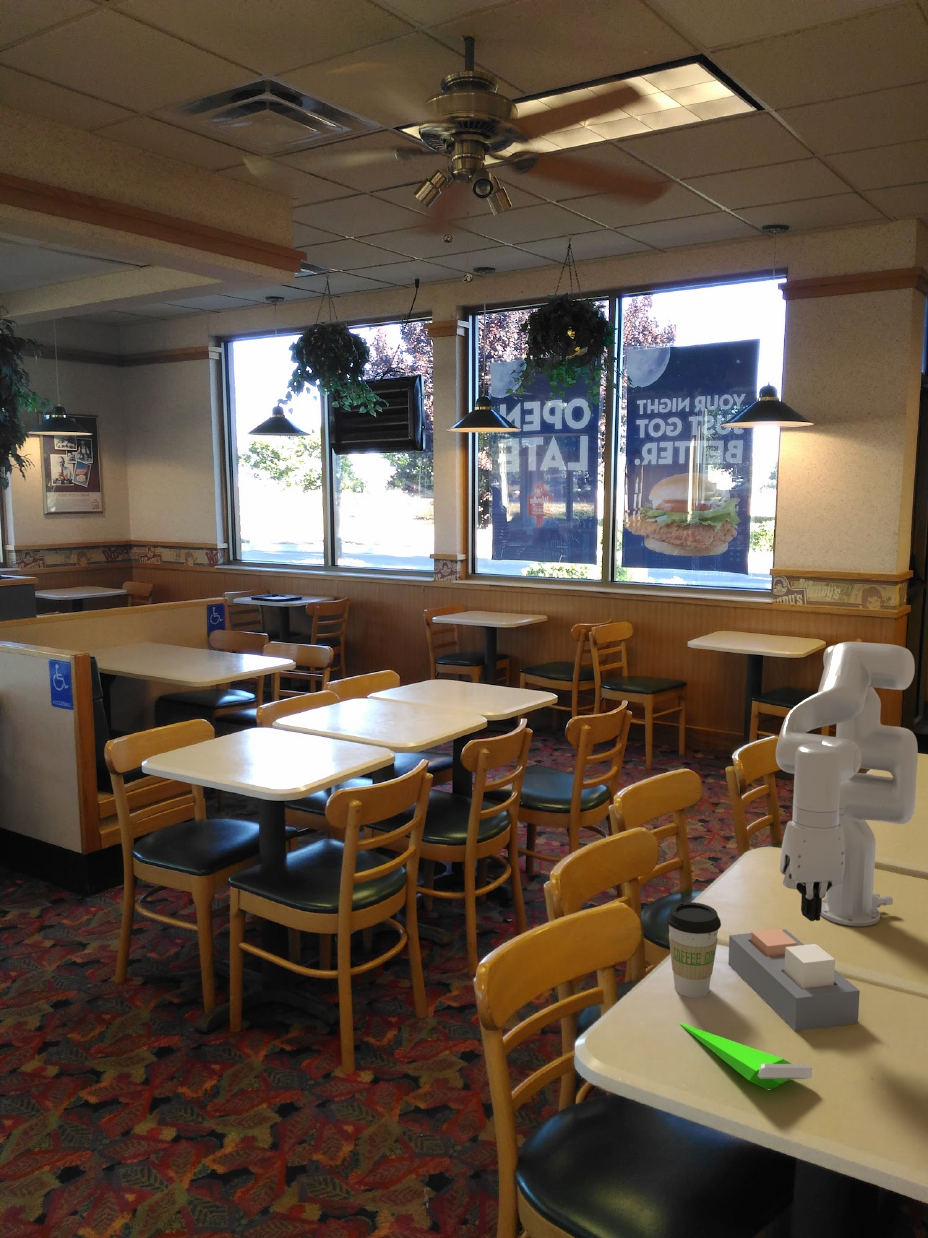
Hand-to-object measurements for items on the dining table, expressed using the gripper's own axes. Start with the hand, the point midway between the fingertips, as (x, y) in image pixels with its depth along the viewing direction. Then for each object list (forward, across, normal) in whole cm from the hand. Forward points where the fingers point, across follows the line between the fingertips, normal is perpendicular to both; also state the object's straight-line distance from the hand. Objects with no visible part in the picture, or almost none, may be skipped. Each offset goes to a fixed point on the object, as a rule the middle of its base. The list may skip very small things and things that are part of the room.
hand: (810, 917), depth 168 cm
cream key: (+13, 0, 0) cm, 13 cm away
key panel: (+17, 0, -6) cm, 18 cm away
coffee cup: (+18, +16, -12) cm, 27 cm away
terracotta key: (+15, 0, -13) cm, 20 cm away
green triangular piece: (+18, +21, +12) cm, 30 cm away
